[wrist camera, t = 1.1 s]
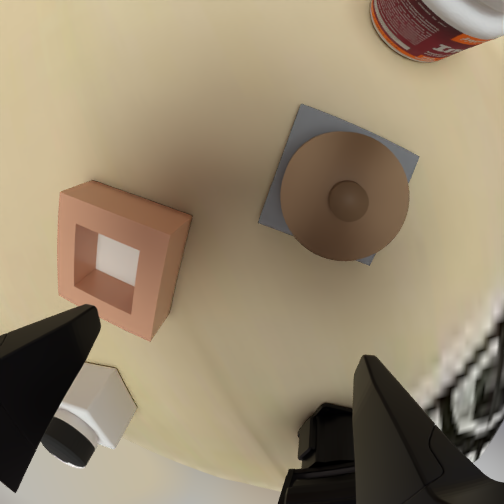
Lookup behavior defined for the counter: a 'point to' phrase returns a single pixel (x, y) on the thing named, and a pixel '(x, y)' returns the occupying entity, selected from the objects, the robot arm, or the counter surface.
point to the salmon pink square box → (119, 255)
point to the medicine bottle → (89, 416)
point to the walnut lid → (344, 195)
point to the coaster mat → (303, 130)
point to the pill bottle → (436, 25)
